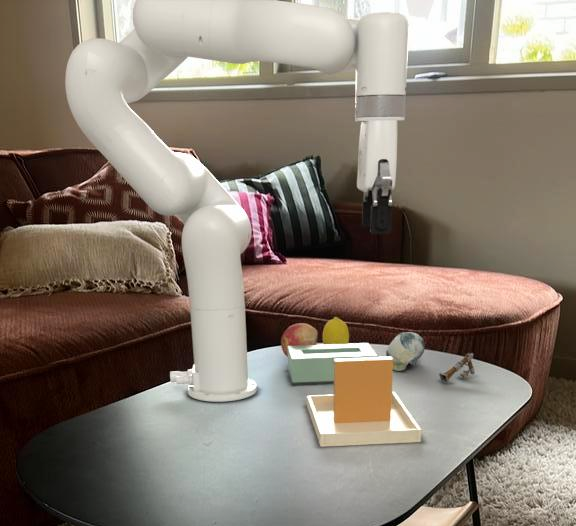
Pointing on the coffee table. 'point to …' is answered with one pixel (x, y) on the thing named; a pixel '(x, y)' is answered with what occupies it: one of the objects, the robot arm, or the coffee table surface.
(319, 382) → the toaster
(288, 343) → the fruit
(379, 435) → the tray
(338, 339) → the lemon
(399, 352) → the seashell
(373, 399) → the toast
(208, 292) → the robot arm
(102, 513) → the coffee table surface
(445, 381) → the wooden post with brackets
